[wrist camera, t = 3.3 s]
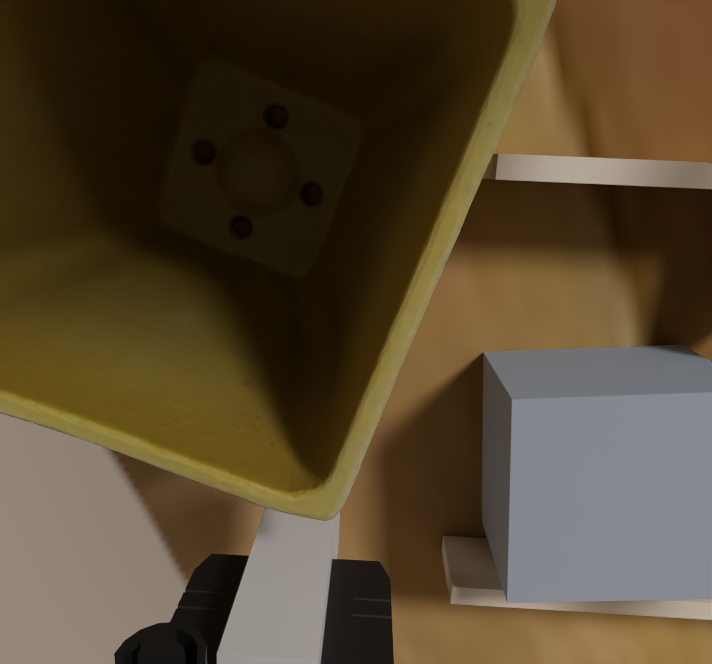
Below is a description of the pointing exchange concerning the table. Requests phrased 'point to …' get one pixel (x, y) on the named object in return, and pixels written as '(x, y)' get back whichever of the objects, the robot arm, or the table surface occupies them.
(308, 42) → the flower pot
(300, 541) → the robot arm
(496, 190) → the table surface
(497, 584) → the wooden wall shelf
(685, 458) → the slate block
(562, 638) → the table surface
